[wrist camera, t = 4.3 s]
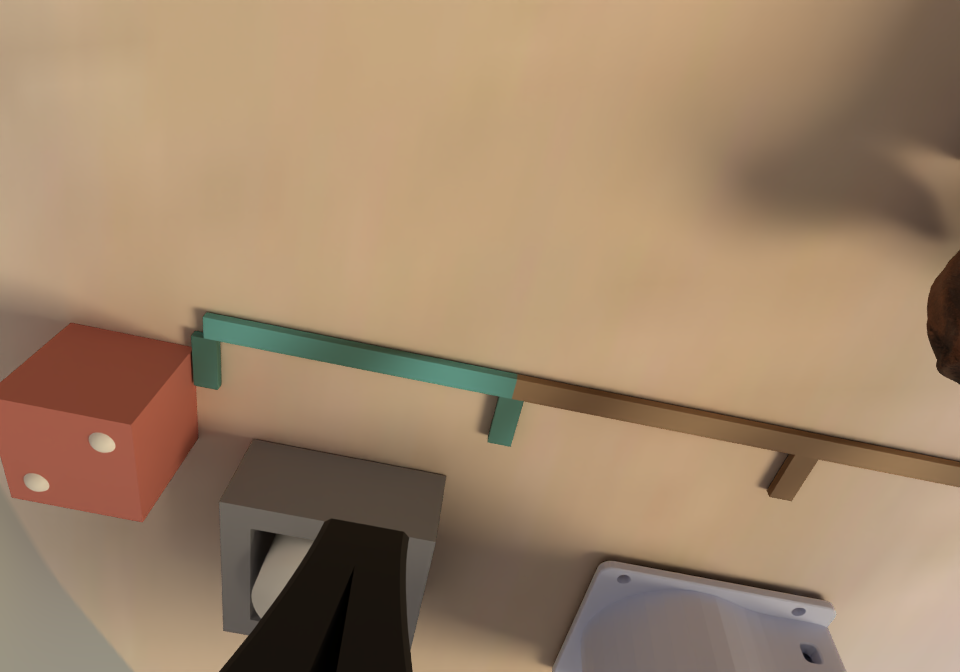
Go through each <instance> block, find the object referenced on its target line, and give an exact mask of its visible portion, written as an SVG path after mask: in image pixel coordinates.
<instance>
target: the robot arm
mask: <svg viewBox="0 0 960 672" xmlns="http://www.w3.org/2000/svg"><path fill="white" fill-rule="evenodd" d="M408 542H409V537H408V536H407V534H406V533H405V532H404V531H398V530H393V529H387V528H382V527H376V526H371V525H366V524H360V523H355V522H349V521H344V520H338V519H333V518H331V519H329V520H327V521H325V522H324V523H323V525H322V527H321V529H320V531H319V533H318V535H317V537H316V538H315V540H314V542H313V543H312V545H311V547H310V549H309V550H308V552H307V554H306V555H305V557H304V558H303V560H302V562H301V563H300V565H299V566H298V568H297V569H296V571H295V572H294V574H293V575H292V577H291V578H290V580H289V581H288V582H287V584H286V585H285V587H284V588H283V590H282V591H281V593H280V594H279V595H278V597H277V598H276V599H275V601H274V602H273V604H272V605H271V606H270V608H269V609H268V610H267V612H266V613H265V614H264V616H263V617H262V618H261V620H260V621H259V622H258V624H257V625H256V627H255V628H254V629H253V631H252V632H251V633H250V634H249V636H248V637H247V638H246V640H245V641H244V642H243V643H242V645H241V646H240V647H239V648H238V649H237V651H236V652H235V653H234V654H233V656H232V657H231V658H230V659H229V660H228V662H227V663H226V664H225V665H224V666H223V668H222V669H221V670H220V671H219V672H413V671H412V662H411V653H410V643H409V634H408V622H407V603H406V562H407V549H408ZM835 617H836V611H835V609H834V606H833V604H831V603H830V602H828V601H825V600H820V599H814V598H809V597H804V596H798V595H793V594H788V593H782V592H777V591H772V590H766V589H761V588H756V587H750V586H745V585H740V584H734V583H729V582H724V581H718V580H713V579H708V578H702V577H697V576H692V575H686V574H681V573H675V572H670V571H665V570H659V569H654V568H649V567H643V566H638V565H633V564H627V563H622V562H617V561H605V562H603V563H601V564H600V565H599V566H598V568H597V570H596V572H595V574H594V576H593V579H592V581H591V583H590V585H589V588H588V590H587V592H586V594H585V596H584V599H583V601H582V603H581V605H580V608H579V610H578V612H577V614H576V616H575V619H574V621H573V623H572V625H571V627H570V630H569V632H568V634H567V636H566V639H565V641H564V643H563V645H562V647H561V650H560V652H559V654H558V656H557V659H556V661H555V663H554V665H553V668H552V672H846V669H845V667H844V665H843V662H842V660H841V658H840V655H839V653H838V651H837V648H836V646H835V643H834V641H833V639H832V636H831V634H830V632H829V629H828V628H827V627H828V626H829V625H830V623H831V622H832V621H833V620H834V618H835Z"/></svg>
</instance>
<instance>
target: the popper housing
mask: <svg viewBox="0 0 960 672" xmlns="http://www.w3.org/2000/svg"><path fill="white" fill-rule="evenodd" d="M445 481H446V476H444V475H439V474H434V473H428V472H423V471H418V470H413V469H407V468H402V467H397V466H392V465H386V464H381V463H376V462H371V461H365V460H360V459H355V458H350V457H345V456H339V455H334V454H329V453H324V452H318V451H313V450H308V449H303V448H297V447H292V446H287V445H282V444H276V443H271V442H266V441H261V440H255V439H253V441H252V443H251V445H250V446H249V448H248V450H247V452H246V454H245V455H244V457H243V459H242V461H241V463H240V465H239V466H238V468H237V470H236V472H235V474H234V476H233V477H232V479H231V481H230V483H229V485H228V487H227V488H226V490H225V492H224V494H223V496H222V497H221V499H220V501H219V512H220V543H221V573H222V604H223V631H228V632H233V633H239V634H244V635H249V634H250V633H251V632H252V631H253V629H254V628H255V627H256V625H257V624H258V622H259V621H260V620H261V618H260V617H259V615H258V614H257V612H256V611H255V608H254V606H253V603H252V597H251V595H252V589H253V587H254V584H255V582H256V579H257V577H258V575H259V572H260V570H261V568H262V565H263V563H264V560H265V558H266V556H267V553H268V551H269V549H270V546H271V544H272V542H273V539H274V537H275V535H276V533H277V534H282V535H288V536H293V537H299V538H304V539H309V540H315V538H316V537H317V535H318V533H319V531H320V529H321V527H322V525H323V523H324V522H325V521H327V520H329V519H331V518H333V519H338V520H344V521H349V522H355V523H360V524H366V525H371V526H376V527H382V528H387V529H393V530H398V531H404V532H405V533H406V534H407V536H408V537H409V542H408V549H407V562H406V603H407V622H408V634H409V643H410V650H411V646H412V641H413V637H414V633H415V629H416V624H417V620H418V616H419V612H420V607H421V603H422V599H423V595H424V590H425V586H426V582H427V578H428V573H429V569H430V565H431V561H432V556H433V552H434V548H435V544H436V538H437V532H438V525H439V519H440V512H441V506H442V500H443V493H444V487H445Z"/></svg>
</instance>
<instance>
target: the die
mask: <svg viewBox="0 0 960 672" xmlns="http://www.w3.org/2000/svg"><path fill="white" fill-rule="evenodd" d="M197 439H198V421H197V399H196V386H195V385H194V380H193V361H192V347H189V346H184V345H179V344H174V343H169V342H164V341H159V340H154V339H149V338H144V337H139V336H134V335H129V334H124V333H119V332H115V331H110V330H105V329H100V328H95V327H90V326H85V325H80V324H75V323H70V324H69V325H68V326H66V327H65V328H64V329H63V330H62V331H60V332H59V333H58V334H57V335H56V336H55V337H53V338H52V339H51V340H50V341H49V342H48V343H46V344H45V345H44V346H43V347H42V348H40V349H39V350H38V351H37V352H36V353H35V354H33V355H32V356H31V357H30V358H29V359H27V360H26V361H25V362H24V363H23V364H22V365H20V366H19V367H18V368H17V369H16V370H14V371H13V372H12V373H11V374H10V375H9V376H7V377H6V378H5V379H4V380H3V381H2V382H0V456H1V460H2V464H3V467H4V471H5V475H6V478H7V482H8V486H9V489H10V493H11V497H12V498H17V499H22V500H28V501H33V502H38V503H44V504H49V505H54V506H59V507H65V508H70V509H75V510H81V511H86V512H91V513H96V514H102V515H107V516H112V517H117V518H123V519H128V520H133V521H139V522H143V521H144V520H145V518H146V517H147V515H148V513H149V512H150V510H151V509H152V507H153V506H154V504H155V503H156V501H157V500H158V498H159V497H160V495H161V494H162V492H163V491H164V489H165V488H166V486H167V485H168V483H169V482H170V480H171V479H172V477H173V476H174V474H175V473H176V471H177V470H178V468H179V467H180V465H181V464H182V462H183V460H184V459H185V457H186V456H187V454H188V453H189V451H190V450H191V448H192V447H193V445H194V444H195V442H196V441H197Z"/></svg>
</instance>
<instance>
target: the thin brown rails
mask: <svg viewBox="0 0 960 672" xmlns="http://www.w3.org/2000/svg"><path fill="white" fill-rule="evenodd" d="M220 342H225V343H230V344H236V345H241V346H246V347H251V348H256V349H261V350H266V351H271V352H276V353H281V354H286V355H291V356H296V357H301V358H307V359H312V360H317V361H322V362H327V363H332V364H337V365H342V366H347V367H352V368H357V369H362V370H367V371H372V372H378V373H383V374H388V375H393V376H398V377H403V378H408V379H413V380H418V381H423V382H428V383H433V384H438V385H443V386H448V387H454V388H459V389H464V390H469V391H474V392H479V393H484V394H489V395H494V396H499V397H498V401H497V404H496V408H495V412H494V416H493V420H492V423H491V427H490V431H489V435H488V442H489V443H494V444H499V445H504V446H510V447H511V443H512V440H513V436H514V433H515V430H516V426H517V423H518V419H519V416H520V413H521V409H522V406H523V402H524V401H525V402H530V403H535V404H540V405H545V406H550V407H555V408H560V409H565V410H570V411H575V412H580V413H585V414H590V415H596V416H601V417H606V418H611V419H616V420H621V421H626V422H631V423H636V424H641V425H646V426H651V427H656V428H661V429H667V430H672V431H677V432H682V433H687V434H692V435H697V436H702V437H707V438H712V439H717V440H722V441H727V442H732V443H737V444H743V445H748V446H753V447H758V448H763V449H768V450H773V451H778V452H783V453H788V454H789V455H788V457H787V458H786V460H785V461H784V463H783V465H782V466H781V468H780V470H779V471H778V473H777V475H776V476H775V478H774V480H773V481H772V483H771V485H770V486H769V488H768V489H767V492H768V495H769V497H773V498H778V499H783V500H788V501H792V500H793V498H794V497H795V495H796V493H797V492H798V490H799V489H800V487H801V486H802V484H803V483H804V481H805V480H806V478H807V476H808V475H809V473H810V472H811V470H812V469H813V467H814V466H815V464H816V462H817V461H818V459H819V460H824V461H829V462H834V463H839V464H844V465H849V466H854V467H859V468H864V469H869V470H874V471H879V472H885V473H890V474H895V475H900V476H905V477H910V478H915V479H920V480H925V481H930V482H935V483H940V484H945V485H950V486H956V487H960V462H957V461H952V460H947V459H942V458H937V457H932V456H927V455H922V454H917V453H912V452H907V451H902V450H897V449H892V448H887V447H881V446H876V445H871V444H866V443H861V442H856V441H851V440H846V439H841V438H836V437H831V436H826V435H821V434H816V433H811V432H806V431H801V430H796V429H791V428H786V427H781V426H776V425H771V424H766V423H761V422H756V421H751V420H746V419H741V418H736V417H731V416H726V415H721V414H716V413H711V412H706V411H701V410H696V409H691V408H686V407H681V406H676V405H671V404H666V403H660V402H655V401H650V400H645V399H640V398H635V397H630V396H625V395H620V394H615V393H610V392H605V391H600V390H595V389H590V388H585V387H580V386H575V385H570V384H565V383H560V382H555V381H550V380H545V379H540V378H535V377H530V376H525V375H520V374H515V373H510V372H505V371H500V370H495V369H490V368H485V367H480V366H475V365H470V364H465V363H460V362H455V361H450V360H444V359H439V358H434V357H429V356H424V355H419V354H414V353H409V352H404V351H399V350H394V349H389V348H384V347H379V346H374V345H369V344H364V343H359V342H354V341H349V340H344V339H339V338H334V337H329V336H324V335H319V334H314V333H309V332H304V331H299V330H294V329H289V328H284V327H279V326H274V325H269V324H264V323H259V322H254V321H249V320H244V319H239V318H234V317H229V316H223V315H218V314H213V313H208V312H207V313H206V314H205V315H204V316H203V332H199V331H195V332H194V333H193V334H192V335H191V343H192V361H193V380H194V385H195V386H200V387H205V388H210V389H215V390H218V389H219V387H220V386H221V351H220Z"/></svg>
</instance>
